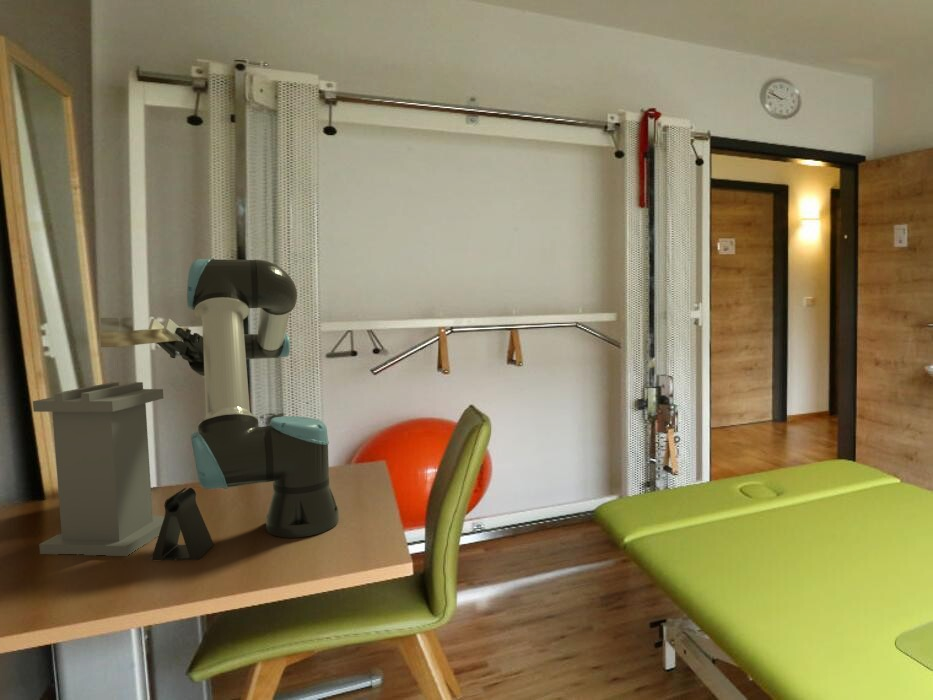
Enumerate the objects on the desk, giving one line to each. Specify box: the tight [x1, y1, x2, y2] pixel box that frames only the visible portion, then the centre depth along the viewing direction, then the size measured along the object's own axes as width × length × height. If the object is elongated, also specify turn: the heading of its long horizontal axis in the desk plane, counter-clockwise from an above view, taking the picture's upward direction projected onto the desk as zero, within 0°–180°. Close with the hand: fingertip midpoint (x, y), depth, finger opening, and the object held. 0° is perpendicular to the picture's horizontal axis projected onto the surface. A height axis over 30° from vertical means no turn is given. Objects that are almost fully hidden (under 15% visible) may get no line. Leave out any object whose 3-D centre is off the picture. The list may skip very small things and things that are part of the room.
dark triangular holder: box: [151, 487, 214, 561], centre depth 106 cm, size 9×6×12 cm, turn 90°
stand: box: [32, 381, 165, 557], centre depth 112 cm, size 15×18×32 cm
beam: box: [99, 316, 189, 348], centre depth 125 cm, size 26×4×6 cm, turn 175°
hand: (159, 323), depth 129 cm, fingers closed on beam, 3 cm apart
